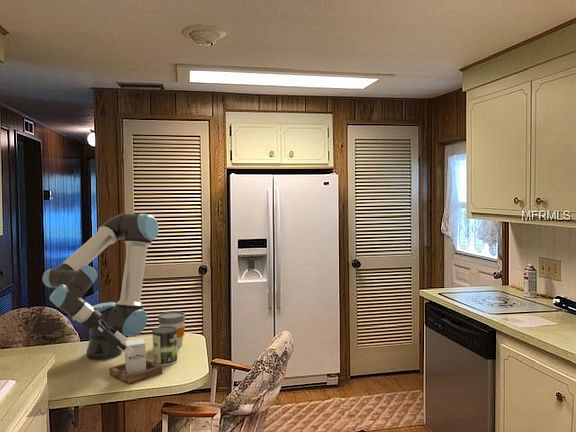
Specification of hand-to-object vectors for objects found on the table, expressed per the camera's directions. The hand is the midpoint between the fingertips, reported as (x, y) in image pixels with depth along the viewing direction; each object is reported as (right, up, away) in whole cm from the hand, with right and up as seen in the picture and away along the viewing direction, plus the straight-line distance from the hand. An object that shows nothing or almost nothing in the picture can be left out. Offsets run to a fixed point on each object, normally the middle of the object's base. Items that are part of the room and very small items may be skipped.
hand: (129, 347), depth 198 cm
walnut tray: (+2, -11, +2) cm, 12 cm away
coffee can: (+11, -10, +16) cm, 22 cm away
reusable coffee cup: (+9, -9, +37) cm, 39 cm away
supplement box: (+2, -11, +2) cm, 11 cm away
